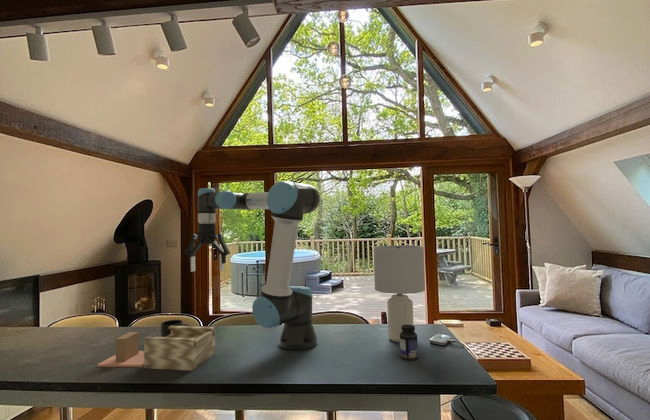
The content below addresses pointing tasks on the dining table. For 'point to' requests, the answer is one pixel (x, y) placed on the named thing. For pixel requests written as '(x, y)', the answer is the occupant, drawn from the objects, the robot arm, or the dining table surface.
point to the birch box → (180, 348)
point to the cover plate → (124, 364)
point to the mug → (166, 324)
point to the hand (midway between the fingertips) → (207, 271)
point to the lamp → (399, 282)
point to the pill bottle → (408, 343)
